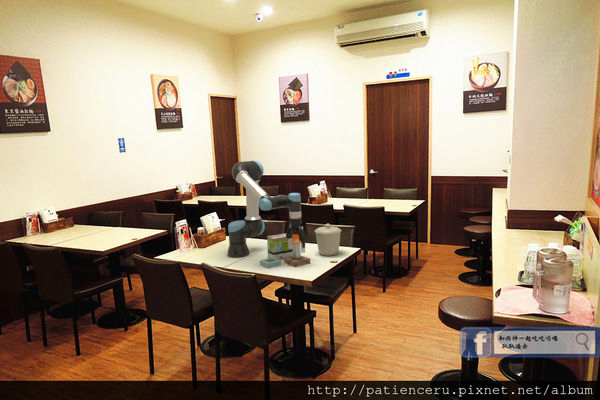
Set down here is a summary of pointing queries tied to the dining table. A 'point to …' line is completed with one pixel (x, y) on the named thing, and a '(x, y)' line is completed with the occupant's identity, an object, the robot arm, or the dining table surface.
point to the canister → (328, 240)
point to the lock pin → (296, 249)
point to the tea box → (279, 246)
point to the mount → (270, 262)
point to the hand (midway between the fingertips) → (296, 250)
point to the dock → (297, 261)
